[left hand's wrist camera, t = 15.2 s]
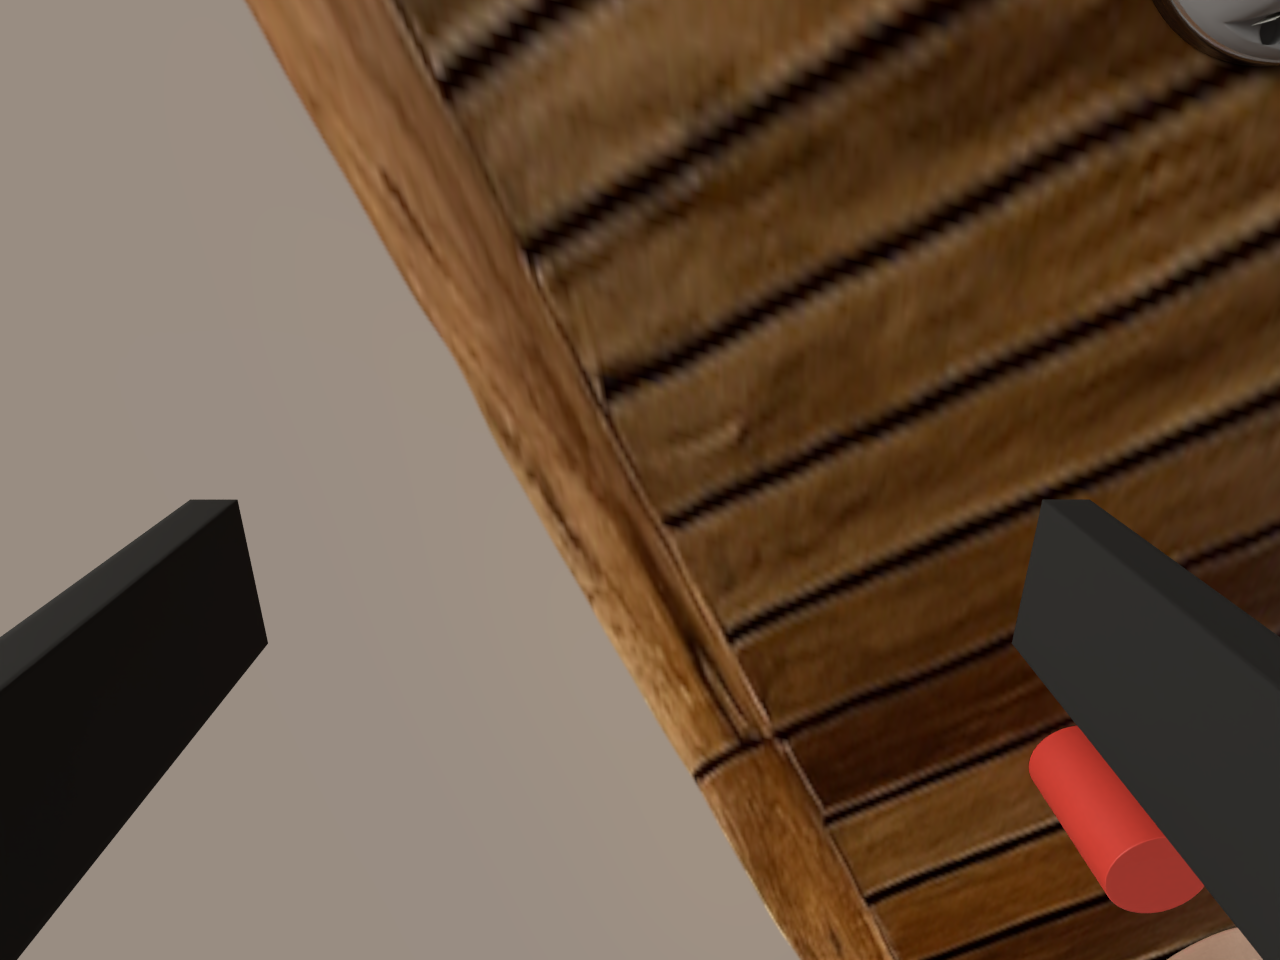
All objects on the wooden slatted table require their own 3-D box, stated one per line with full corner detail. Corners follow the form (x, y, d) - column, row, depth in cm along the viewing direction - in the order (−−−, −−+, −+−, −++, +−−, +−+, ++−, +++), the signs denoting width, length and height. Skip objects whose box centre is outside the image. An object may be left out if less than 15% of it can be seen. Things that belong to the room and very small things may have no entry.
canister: (1081, 710, 50) (1172, 819, 42) (1135, 756, 51) (1233, 872, 43) (1010, 763, 52) (1083, 880, 43) (1064, 807, 53) (1145, 928, 45)
